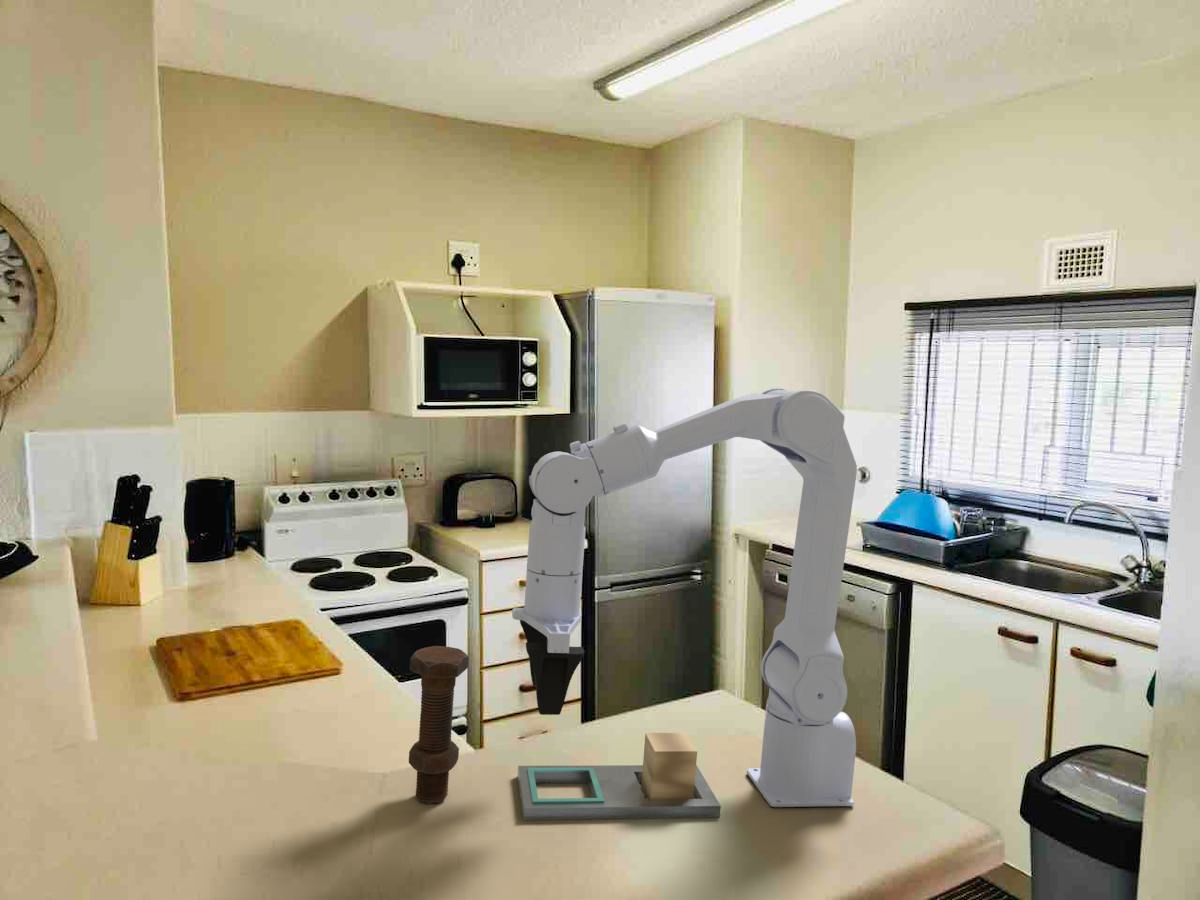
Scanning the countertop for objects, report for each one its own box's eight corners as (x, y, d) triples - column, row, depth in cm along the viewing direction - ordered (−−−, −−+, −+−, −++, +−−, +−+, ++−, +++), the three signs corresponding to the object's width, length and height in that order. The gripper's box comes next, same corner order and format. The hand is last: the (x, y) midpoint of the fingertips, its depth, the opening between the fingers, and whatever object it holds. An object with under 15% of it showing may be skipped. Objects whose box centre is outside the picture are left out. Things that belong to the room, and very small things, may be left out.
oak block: (681, 786, 92) (685, 732, 91) (692, 806, 87) (697, 751, 87) (641, 786, 91) (645, 732, 91) (650, 807, 87) (654, 751, 86)
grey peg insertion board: (695, 775, 94) (696, 763, 94) (719, 817, 86) (721, 804, 85) (517, 776, 91) (518, 764, 91) (523, 820, 82) (524, 806, 82)
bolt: (443, 816, 82) (453, 666, 81) (395, 807, 83) (404, 659, 82) (465, 789, 88) (474, 648, 86) (419, 781, 89) (428, 642, 87)
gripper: (511, 553, 93) (503, 673, 94) (520, 586, 78) (511, 727, 79) (574, 555, 94) (566, 674, 95) (595, 588, 79) (584, 727, 81)
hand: (545, 698), depth 87 cm, fingers open, 7 cm apart
